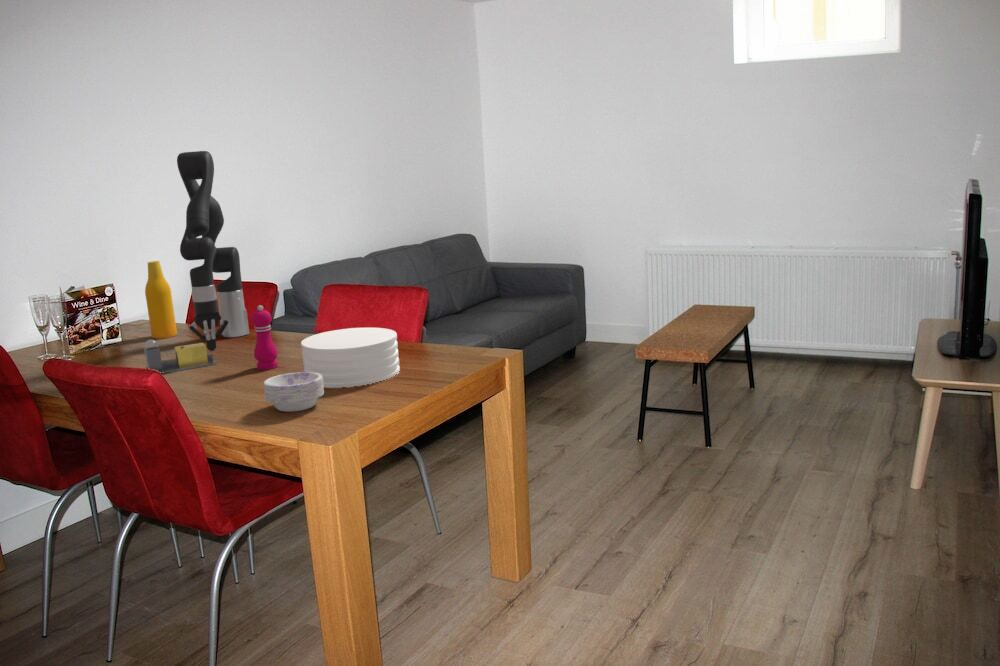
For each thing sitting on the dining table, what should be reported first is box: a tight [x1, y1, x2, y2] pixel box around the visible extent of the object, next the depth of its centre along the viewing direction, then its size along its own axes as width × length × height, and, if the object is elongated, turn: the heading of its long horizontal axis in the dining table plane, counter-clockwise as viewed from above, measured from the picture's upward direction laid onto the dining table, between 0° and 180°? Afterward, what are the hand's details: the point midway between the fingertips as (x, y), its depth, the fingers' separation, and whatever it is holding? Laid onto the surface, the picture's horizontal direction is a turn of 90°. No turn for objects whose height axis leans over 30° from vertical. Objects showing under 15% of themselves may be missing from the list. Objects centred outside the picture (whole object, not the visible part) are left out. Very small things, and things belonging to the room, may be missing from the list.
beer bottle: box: [144, 260, 178, 340], centre depth 325 cm, size 9×9×29 cm
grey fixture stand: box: [143, 339, 217, 374], centre depth 276 cm, size 20×12×10 cm, turn 118°
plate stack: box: [300, 327, 401, 389], centre depth 253 cm, size 28×28×12 cm
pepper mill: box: [251, 304, 279, 371], centre depth 267 cm, size 7×7×20 cm
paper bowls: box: [263, 371, 325, 413], centre depth 224 cm, size 15×15×8 cm
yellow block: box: [174, 342, 208, 366], centre depth 278 cm, size 9×6×6 cm, turn 118°
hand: (212, 350), depth 281 cm, fingers closed
